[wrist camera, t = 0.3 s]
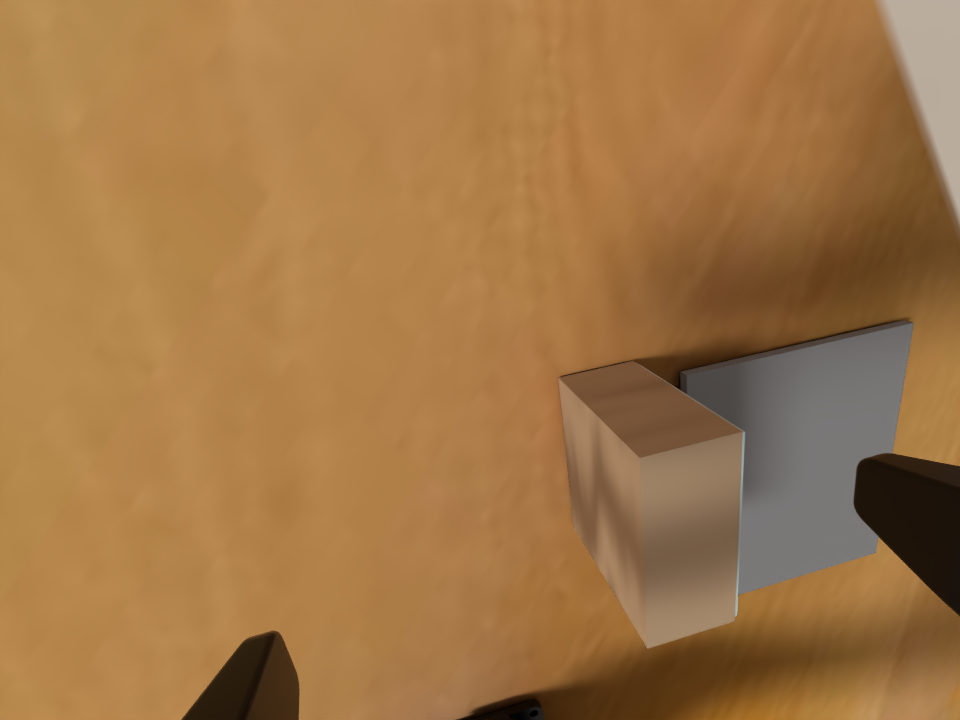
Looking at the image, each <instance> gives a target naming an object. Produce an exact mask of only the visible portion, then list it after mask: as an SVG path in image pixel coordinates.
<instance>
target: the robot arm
mask: <svg viewBox="0 0 960 720" xmlns="http://www.w3.org/2000/svg"><path fill="white" fill-rule="evenodd" d="M853 504H854V508H855V510H856V513H857V514H858V516H859V517H860V518H861V519H862V520H863V522H864V523H865V524H866V525H867V526H868V527H869V528H870V529H871V530H872V531H873V532H874V533H875V534H876V535H877V536H878V537H879V538H880V539H881V540H882V541H883V542H884V543H885V544H886V545H887V546H888V547H889V548H890V549H891V550H892V551H893V552H894V553H895V554H896V555H897V556H898V557H899V558H900V559H901V560H902V561H903V562H904V563H905V564H906V565H907V566H908V567H909V568H910V569H911V570H912V571H913V572H914V573H915V574H916V575H917V576H918V577H919V578H920V579H921V580H922V581H923V582H924V583H925V584H926V585H927V586H928V587H929V588H930V589H931V590H932V591H933V592H934V593H935V594H936V595H937V596H938V597H939V598H940V599H941V600H943V601H944V602H945V603H946V604H947V605H948V606H949V607H950V608H951V609H952V610H953V611H955V612H956V613H957V614H958V615H959V616H960V466H955V465H950V464H944V463H939V462H934V461H929V460H923V459H918V458H913V457H908V456H902V455H897V454H892V453H882V454H878V455H875V456H871V457H868V458H864V459H862V460H861V461H860V462H859V463H858V465H857V469H856V478H855V488H854V499H853ZM182 720H299V681H298V676H297V672H296V670H295V667H294V665H293V662H292V660H291V657H290V655H289V652H288V650H287V647H286V645H285V642H284V640H283V638H282V636H281V634H280V633H279V632H277V631H270V632H266V633H263V634H260V635H256V636H253V637H250V638H248V639H246V640H245V641H243V642H242V643H241V645H240V646H239V647H238V648H237V650H236V651H235V652H234V653H233V655H232V656H231V657H230V658H229V660H228V661H227V662H226V664H225V665H224V666H223V667H222V669H221V670H220V671H219V672H218V674H217V675H216V676H215V678H214V679H213V680H212V681H211V683H210V684H209V685H208V686H207V688H206V689H205V690H204V692H203V693H202V694H201V695H200V697H199V698H198V699H197V700H196V702H195V703H194V704H193V706H192V707H191V708H190V709H189V711H188V712H187V713H186V714H185V716H184V717H183V718H182ZM471 720H544V717H543V711H542V708H541V705H540V702H539V701H537V700H530V701H527V702H524V703H521V704H518V705H515V706H512V707H508V708H505V709H502V710H499V711H496V712H493V713H490V714H486V715H483V716H480V717H477V718H474V719H471Z"/></svg>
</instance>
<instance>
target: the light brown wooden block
mask: <svg viewBox="0 0 960 720" xmlns="http://www.w3.org/2000/svg"><path fill="white" fill-rule="evenodd" d="M559 388H560V398H561V407H562V417H563V427H564V437H565V447H566V457H567V467H568V477H569V486H570V496H571V506H572V516H573V526H574V528H575V530H576V531H577V533H578V535H579V536H580V538H581V540H582V541H583V543H584V545H585V546H586V548H587V550H588V551H589V553H590V555H591V556H592V558H593V559H594V561H595V563H596V564H597V566H598V568H599V569H600V571H601V573H602V574H603V576H604V578H605V579H606V581H607V583H608V584H609V586H610V588H611V589H612V591H613V593H614V594H615V596H616V597H617V599H618V601H619V602H620V604H621V606H622V607H623V609H624V611H625V612H626V614H627V616H628V617H629V619H630V621H631V622H632V624H633V626H634V627H635V629H636V631H637V632H638V634H639V635H640V637H641V639H642V640H643V642H644V644H645V645H646V647H647V649H648V648H652V647H655V646H658V645H661V644H664V643H667V642H671V641H674V640H677V639H680V638H683V637H686V636H690V635H693V634H696V633H699V632H702V631H705V630H708V629H712V628H715V627H718V626H721V625H724V624H727V623H731V622H734V621H735V616H737V603H738V581H739V558H740V535H741V513H742V490H743V468H744V445H745V431H743V430H741V429H740V428H738V427H737V426H735V425H734V424H732V423H731V422H729V421H727V420H726V419H724V418H723V417H721V416H720V415H718V414H717V413H715V412H713V411H712V410H710V409H709V408H707V407H706V406H704V405H702V404H701V403H699V402H698V401H696V400H695V399H693V398H692V397H690V396H688V395H687V394H685V393H684V392H682V391H681V390H679V389H677V388H676V387H674V386H673V385H671V384H670V383H668V382H667V381H665V380H663V379H662V378H660V377H659V376H657V375H656V374H654V373H652V372H651V371H649V370H648V369H646V368H645V367H643V366H642V365H640V364H638V363H635V362H634V361H630V362H626V363H622V364H617V365H613V366H608V367H604V368H599V369H595V370H590V371H586V372H582V373H577V374H573V375H568V376H564V377H559Z"/></svg>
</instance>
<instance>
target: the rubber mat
mask: <svg viewBox="0 0 960 720" xmlns="http://www.w3.org/2000/svg"><path fill="white" fill-rule="evenodd" d="M913 324H914V323H913V322H908V321H904V320H902V321H898V322H894V323H889V324H885V325H881V326H876V327H872V328H868V329H863V330H859V331H855V332H850V333H846V334H842V335H837V336H833V337H829V338H824V339H820V340H816V341H811V342H807V343H803V344H798V345H794V346H790V347H785V348H781V349H777V350H772V351H768V352H764V353H759V354H755V355H751V356H746V357H742V358H738V359H733V360H729V361H725V362H720V363H716V364H712V365H707V366H703V367H699V368H694V369H690V370H686V371H681V372H680V381H681V391H682V392H684V393H685V394H687V395H688V396H690V397H692V398H693V399H695V400H696V401H698V402H699V403H701V404H702V405H704V406H706V407H707V408H709V409H710V410H712V411H713V412H715V413H717V414H718V415H720V416H721V417H723V418H724V419H726V420H727V421H729V422H731V423H732V424H734V425H735V426H737V427H738V428H740V429H741V430H743V431H745V445H744V468H743V490H742V513H741V535H740V558H739V581H738V595H740V594H743V593H746V592H749V591H753V590H756V589H759V588H762V587H766V586H769V585H772V584H775V583H779V582H782V581H785V580H789V579H792V578H795V577H798V576H802V575H805V574H808V573H811V572H815V571H818V570H821V569H825V568H828V567H831V566H834V565H838V564H841V563H844V562H847V561H851V560H854V559H857V558H860V557H864V556H867V555H870V554H874V553H876V548H877V542H878V536H877V535H876V534H875V533H874V532H873V531H872V530H871V529H870V528H869V527H868V526H867V525H866V524H865V523H864V522H863V520H862V519H861V518H860V517H859V516H858V514H857V513H856V510H855V508H854V504H853V499H854V488H855V478H856V469H857V465H858V463H859V462H860V461H861V460H862V459H864V458H868V457H871V456H875V455H878V454H882V453H892V451H893V445H894V439H895V433H896V427H897V421H898V415H899V409H900V403H901V397H902V391H903V385H904V379H905V373H906V367H907V360H908V354H909V348H910V342H911V336H912V330H913Z"/></svg>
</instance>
